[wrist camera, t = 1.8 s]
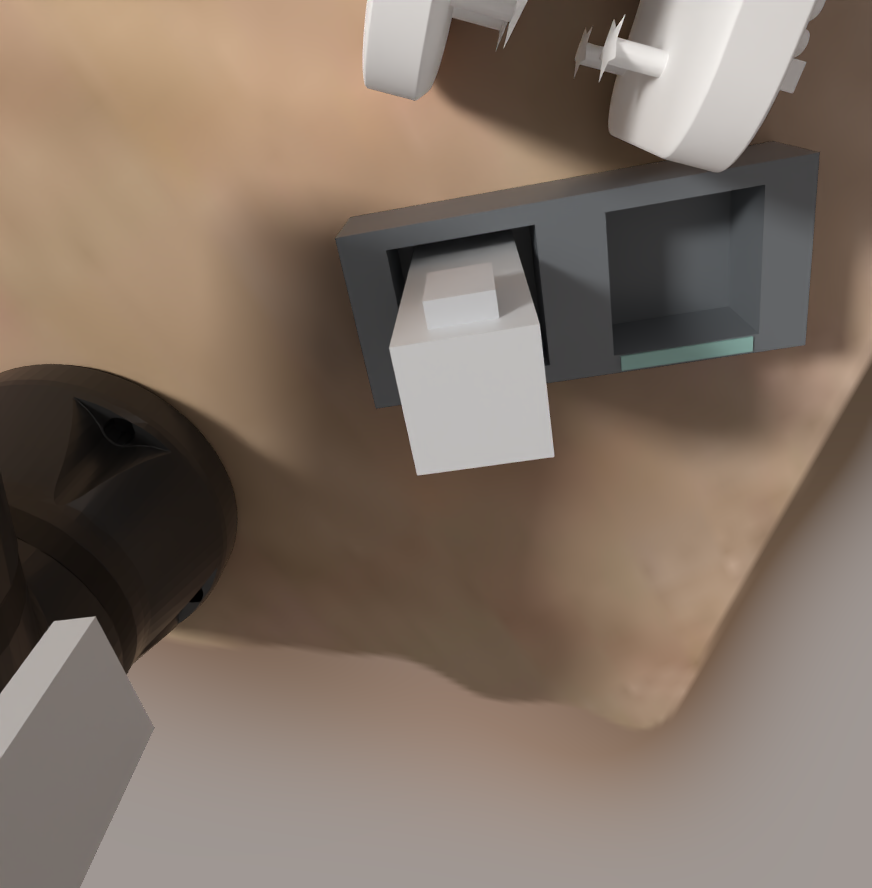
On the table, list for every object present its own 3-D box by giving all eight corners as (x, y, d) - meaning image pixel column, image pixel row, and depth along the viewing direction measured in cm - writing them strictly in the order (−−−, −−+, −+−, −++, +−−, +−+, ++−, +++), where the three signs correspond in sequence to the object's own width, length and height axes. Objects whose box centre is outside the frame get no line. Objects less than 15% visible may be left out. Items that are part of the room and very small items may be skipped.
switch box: (385, 371, 32) (375, 409, 29) (350, 217, 29) (334, 238, 26) (765, 312, 31) (806, 345, 27) (773, 141, 27) (820, 152, 24)
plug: (432, 336, 31) (417, 475, 20) (411, 226, 29) (382, 319, 18) (522, 321, 31) (554, 456, 20) (508, 209, 28) (536, 294, 18)
